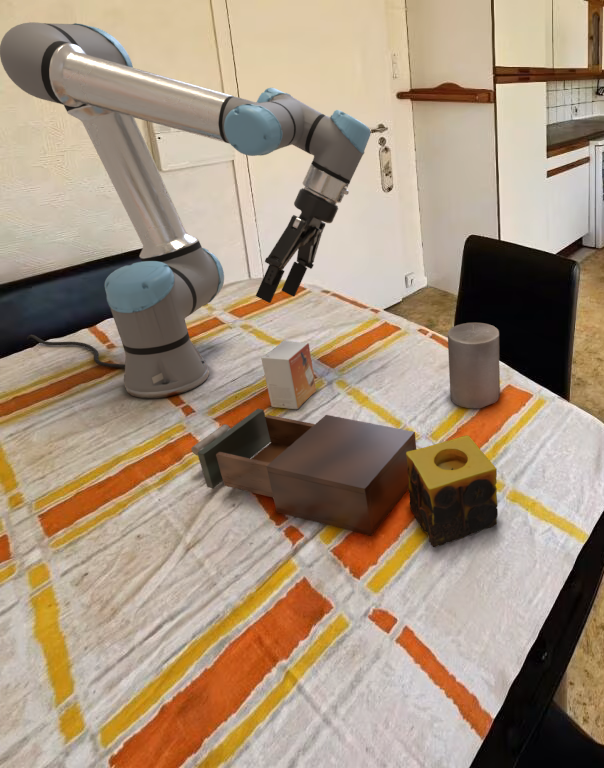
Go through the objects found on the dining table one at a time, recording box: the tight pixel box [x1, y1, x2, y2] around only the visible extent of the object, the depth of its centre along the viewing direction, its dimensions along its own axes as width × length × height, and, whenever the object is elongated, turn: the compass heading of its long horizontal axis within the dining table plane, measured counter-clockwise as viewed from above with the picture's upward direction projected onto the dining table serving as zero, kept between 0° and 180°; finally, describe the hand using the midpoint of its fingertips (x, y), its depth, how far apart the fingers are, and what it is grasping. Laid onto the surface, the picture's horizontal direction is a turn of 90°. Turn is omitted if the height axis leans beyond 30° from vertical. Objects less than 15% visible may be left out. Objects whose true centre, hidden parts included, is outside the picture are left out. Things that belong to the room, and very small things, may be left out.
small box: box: [261, 340, 317, 410], centre depth 118 cm, size 8×6×10 cm
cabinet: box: [266, 414, 417, 537], centre depth 93 cm, size 16×15×8 cm
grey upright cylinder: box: [447, 322, 501, 409], centre depth 118 cm, size 10×10×15 cm
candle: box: [406, 434, 499, 548], centre depth 88 cm, size 10×10×10 cm
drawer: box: [190, 408, 316, 498], centre depth 98 cm, size 20×14×6 cm
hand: (276, 296), depth 121 cm, fingers open, 13 cm apart
